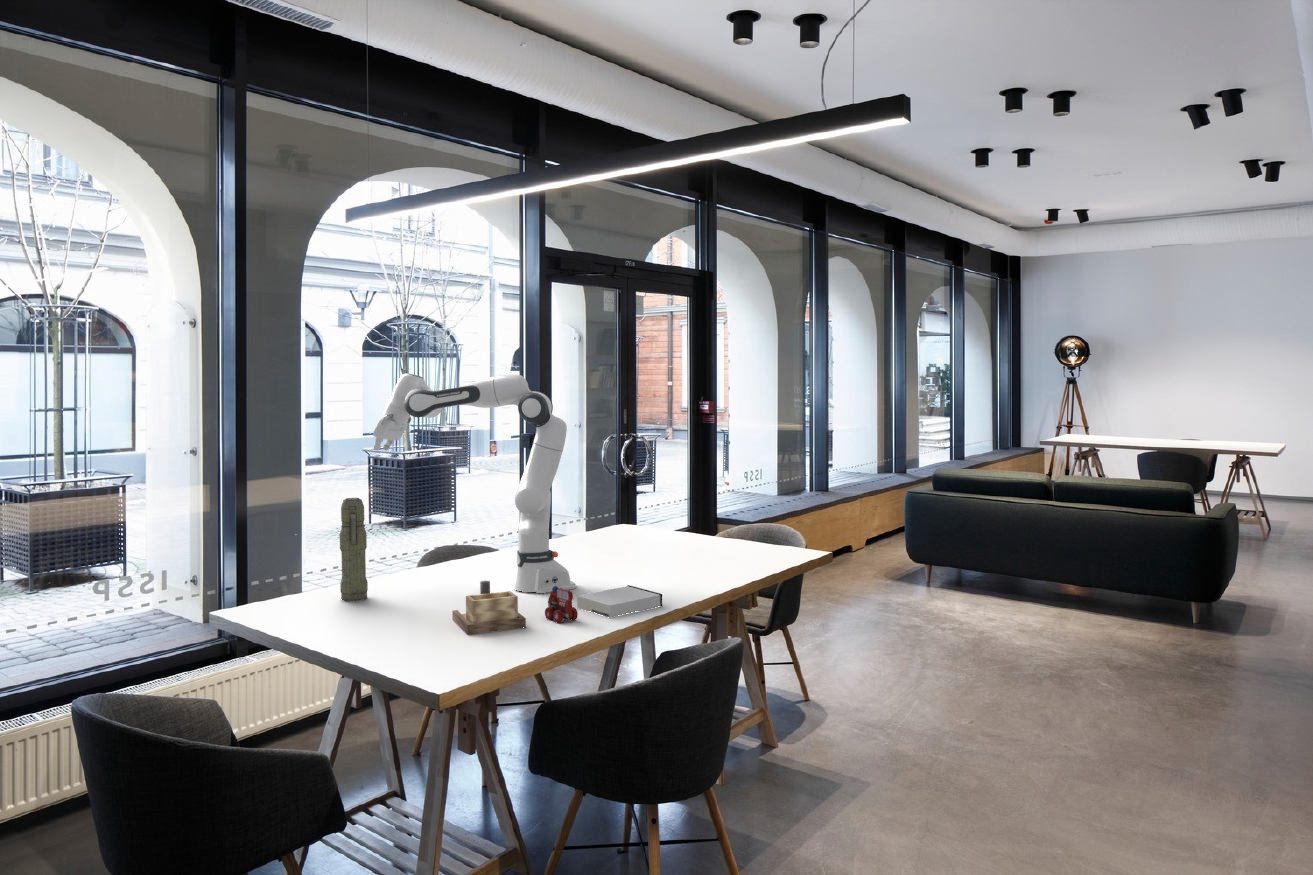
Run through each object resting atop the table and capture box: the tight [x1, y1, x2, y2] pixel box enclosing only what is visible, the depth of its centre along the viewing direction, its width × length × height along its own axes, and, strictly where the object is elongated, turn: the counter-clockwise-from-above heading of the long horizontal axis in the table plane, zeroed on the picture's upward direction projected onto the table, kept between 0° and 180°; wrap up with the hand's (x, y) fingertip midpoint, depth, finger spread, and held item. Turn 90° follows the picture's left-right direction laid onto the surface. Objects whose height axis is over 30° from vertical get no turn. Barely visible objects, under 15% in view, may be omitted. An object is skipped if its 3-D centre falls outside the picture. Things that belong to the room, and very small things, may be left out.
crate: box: [465, 580, 519, 623], centre depth 278 cm, size 14×13×11 cm
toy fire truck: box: [544, 586, 579, 624], centre depth 284 cm, size 7×12×10 cm, turn 38°
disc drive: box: [576, 584, 663, 619], centre depth 300 cm, size 18×22×5 cm
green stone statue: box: [339, 497, 369, 602], centre depth 312 cm, size 9×12×35 cm
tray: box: [451, 609, 527, 636], centre depth 279 cm, size 18×19×3 cm
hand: (380, 449), depth 325 cm, fingers open, 8 cm apart
